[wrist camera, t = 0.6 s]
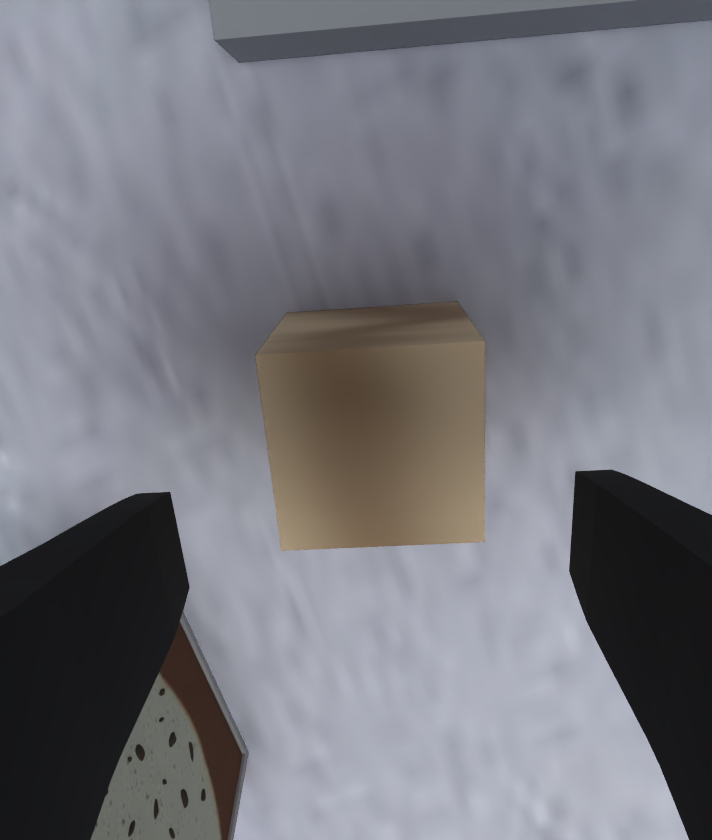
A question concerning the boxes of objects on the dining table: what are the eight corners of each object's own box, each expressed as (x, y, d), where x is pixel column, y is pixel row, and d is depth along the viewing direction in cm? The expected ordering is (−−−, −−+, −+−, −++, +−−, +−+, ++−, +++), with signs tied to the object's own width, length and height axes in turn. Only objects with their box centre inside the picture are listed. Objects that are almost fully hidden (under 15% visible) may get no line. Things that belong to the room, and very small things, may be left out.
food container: (-17, 562, 21) (-325, 852, 12) (142, 523, 21) (-55, 801, 11) (123, 803, 25) (-25, 1158, 16) (260, 778, 25) (188, 1137, 15)
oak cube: (457, 301, 18) (485, 340, 13) (459, 457, 19) (484, 542, 15) (287, 312, 18) (255, 354, 13) (304, 465, 20) (281, 550, 15)
